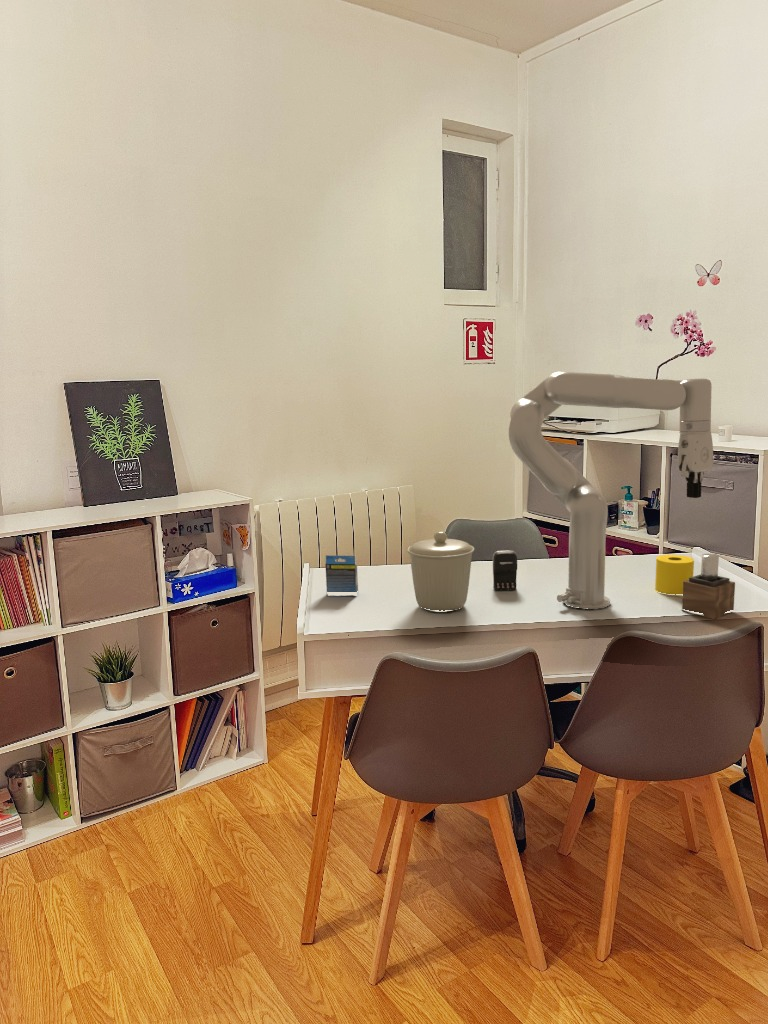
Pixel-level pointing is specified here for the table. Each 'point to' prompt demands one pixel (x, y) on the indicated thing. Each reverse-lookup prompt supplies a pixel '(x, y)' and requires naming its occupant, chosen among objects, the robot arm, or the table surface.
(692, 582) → the socket block
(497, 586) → the battery charger
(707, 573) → the peg
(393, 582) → the table surface
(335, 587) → the label tape box
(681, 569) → the tape roll
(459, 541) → the canister
